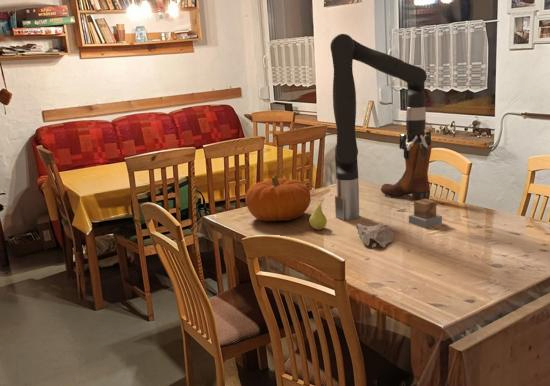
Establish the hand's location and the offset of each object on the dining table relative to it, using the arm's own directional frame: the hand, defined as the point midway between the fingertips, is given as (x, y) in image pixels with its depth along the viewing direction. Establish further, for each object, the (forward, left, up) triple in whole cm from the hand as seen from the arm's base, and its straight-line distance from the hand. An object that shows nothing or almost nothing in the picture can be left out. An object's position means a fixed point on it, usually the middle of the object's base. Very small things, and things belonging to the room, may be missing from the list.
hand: (415, 157), depth 225 cm
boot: (+16, +24, -25) cm, 38 cm away
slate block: (-3, -10, -25) cm, 27 cm away
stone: (-31, -13, -25) cm, 42 cm away
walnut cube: (-3, -10, -22) cm, 24 cm away
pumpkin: (-46, +34, -25) cm, 63 cm away
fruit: (-40, +11, -25) cm, 49 cm away
